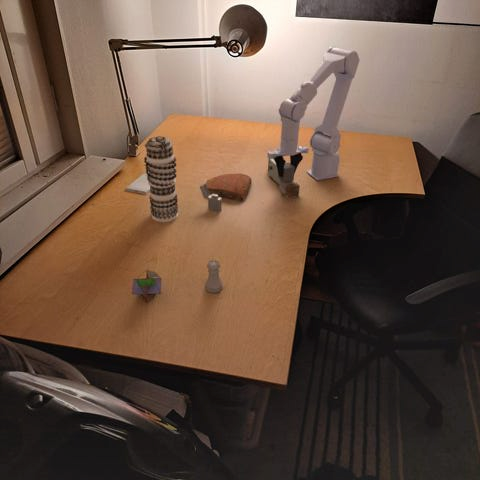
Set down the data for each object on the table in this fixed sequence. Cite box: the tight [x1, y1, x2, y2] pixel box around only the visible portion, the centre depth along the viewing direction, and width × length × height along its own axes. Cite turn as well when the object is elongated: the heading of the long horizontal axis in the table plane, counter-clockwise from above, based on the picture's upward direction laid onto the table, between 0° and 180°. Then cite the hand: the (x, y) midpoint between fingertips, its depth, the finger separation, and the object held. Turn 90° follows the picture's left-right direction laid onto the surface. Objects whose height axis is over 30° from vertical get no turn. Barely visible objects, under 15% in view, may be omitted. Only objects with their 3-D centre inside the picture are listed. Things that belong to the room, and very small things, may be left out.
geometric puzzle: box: [131, 269, 162, 303], centre depth 108 cm, size 7×7×8 cm
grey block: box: [278, 162, 296, 182], centre depth 155 cm, size 4×4×5 cm
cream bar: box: [267, 158, 280, 185], centre depth 161 cm, size 2×10×6 cm, turn 23°
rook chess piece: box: [204, 259, 224, 294], centre depth 110 cm, size 4×4×8 cm
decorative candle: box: [143, 136, 179, 223], centre depth 135 cm, size 9×9×25 cm
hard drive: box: [125, 173, 150, 195], centre depth 159 cm, size 2×8×12 cm
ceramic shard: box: [204, 173, 252, 202], centre depth 156 cm, size 15×6×15 cm
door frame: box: [267, 158, 300, 199], centre depth 160 cm, size 4×22×6 cm, turn 23°
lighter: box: [199, 183, 223, 213], centre depth 144 cm, size 7×2×8 cm, turn 64°
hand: (286, 174), depth 155 cm, fingers closed on grey block, 4 cm apart
